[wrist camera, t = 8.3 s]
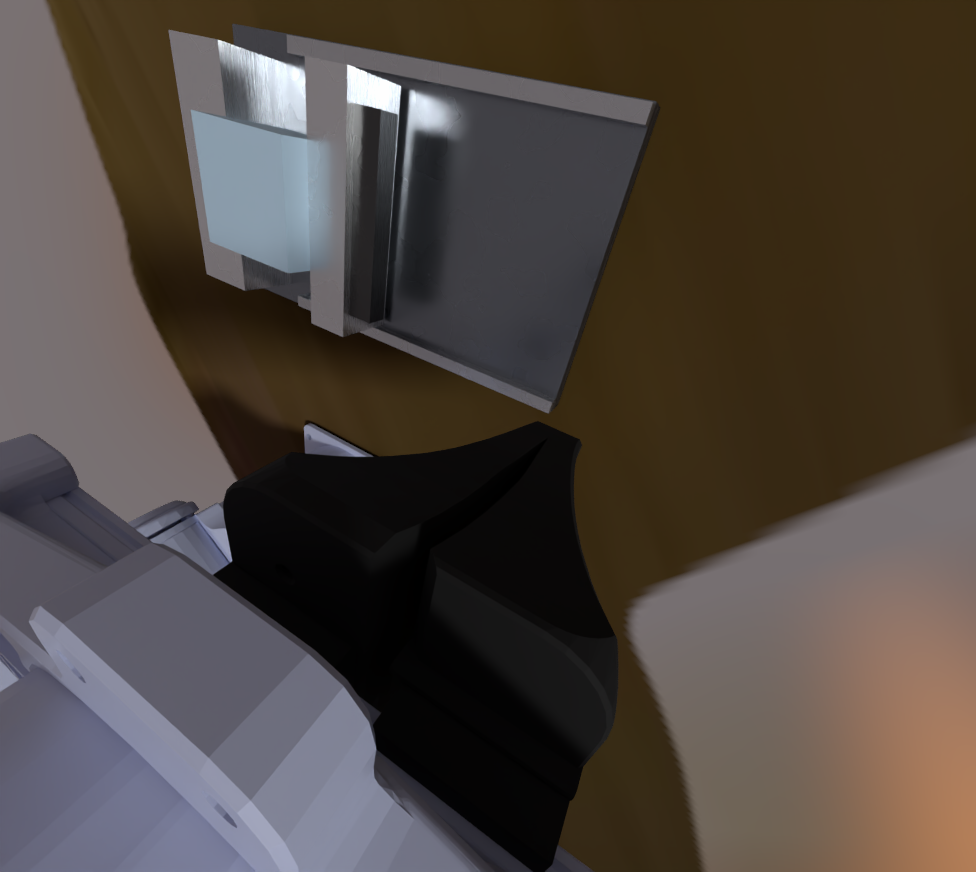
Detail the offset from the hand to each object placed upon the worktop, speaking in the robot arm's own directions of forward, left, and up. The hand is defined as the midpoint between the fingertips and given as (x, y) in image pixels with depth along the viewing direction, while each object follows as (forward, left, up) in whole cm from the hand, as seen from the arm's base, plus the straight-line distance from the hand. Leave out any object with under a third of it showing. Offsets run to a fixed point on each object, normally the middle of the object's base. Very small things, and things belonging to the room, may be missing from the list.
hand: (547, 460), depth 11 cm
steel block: (+3, +17, -8) cm, 19 cm away
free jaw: (+3, +12, -8) cm, 15 cm away
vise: (+3, +12, -9) cm, 16 cm away
